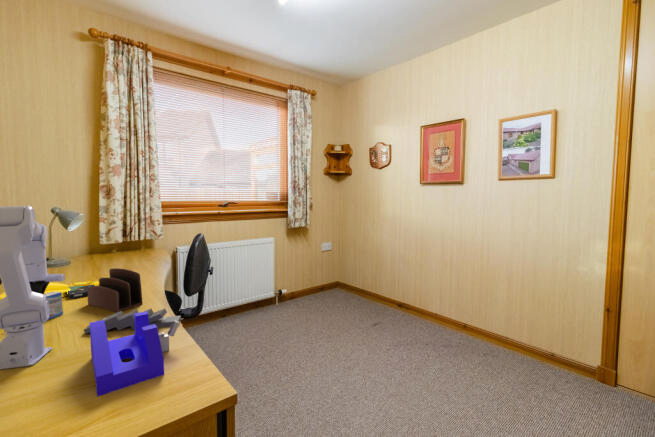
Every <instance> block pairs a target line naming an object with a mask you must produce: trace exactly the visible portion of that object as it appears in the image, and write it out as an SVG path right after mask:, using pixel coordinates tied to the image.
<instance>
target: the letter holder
mask: <svg viewBox="0 0 655 437" xmlns="http://www.w3.org/2000/svg"><path fill="white" fill-rule="evenodd" d="M108 272H109V277H107V276H105V277H104V276H103V277H99V278H98V285H95V286H89V287H88V296H87V305H88V306H93V307H95V308H100V309H104V310H106V311H111V312H115V313H117V312H120V311H122V312H124V311H127V310H130V309H132V308H137V307H140V306H142V305H143V293H142V290H143V289H142V281H141V275H140V273H139V272H136V271H134V270H132V269H126V268H118V267H117V268H114V267H113V268H109V271H108Z"/></svg>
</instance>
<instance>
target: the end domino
mask: <svg viewBox="0 0 655 437" xmlns="http://www.w3.org/2000/svg"><path fill="white" fill-rule="evenodd" d="M174 320H175V321H179V322H182V315H172V316H163V318H161V319H159V320H156V321H153V322H151V323H149V325H153V324H155V325H156V326H157V328H163V327H165V328H166V327H171V325H172V323H173V321H174Z"/></svg>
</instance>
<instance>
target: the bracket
mask: <svg viewBox="0 0 655 437" xmlns="http://www.w3.org/2000/svg"><path fill="white" fill-rule="evenodd" d="M144 311H145V312H144ZM144 311H141V312H139V313H135V314H134V321H135V329H134V334H131V335H127V336H123V337H119V338H115V339H108V333H107V331H106V326H105V323H104V320H101V319H100V320H101V321H98V320H96V321H91V322H89V325H90V333H89V334H90V335H89V338H90V352H91V362H92V366H93V374H94V380H95V385H96V396H97V397H100V396H103V395H107V394H109V393H113V392H115V391H119V390H121V389H125V388H127V387H130V386H134V385H136V384H139V383H143V382H146V381H149V380H151V379H155V378H159V377H160V376H164V375H165V364H164V363H165V362H164V361H165V360H164V355H163V352H162V349H161V344H160V339H159V334H158V333H159V329H158V327H157V326H156V325H155V324H153V325H149V320H148V313H147V311H146V310H144ZM126 359H131V360H130V361H127V362H124V361H123V360H126Z"/></svg>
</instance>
